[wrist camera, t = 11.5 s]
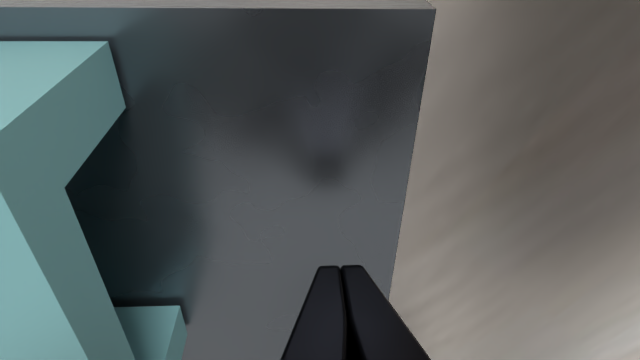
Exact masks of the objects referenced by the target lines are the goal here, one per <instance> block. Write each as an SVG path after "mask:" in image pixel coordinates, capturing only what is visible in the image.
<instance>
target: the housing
mask: <svg viewBox="0 0 640 360" xmlns="http://www.w3.org/2000/svg"><path fill="white" fill-rule="evenodd" d="M125 108H126V106H125V102H124V98H123V95H122V91H121V87H120V84H119V80H118V76H117V72H116V69H115V65H114V61H113V58H112V54H111V50H110V47H109V43H108V41H0V360H181V359H182V355H183V350H184V346H185V342H186V338H187V330H186V326H185V323H184V319H183V315H182V311H181V308H180V306H145V307H113V305H112V302H111V300H110V297H109V295H108V292H107V290H106V288H105V285H104V283H103V280H102V278H101V275H100V273H99V271H98V268H97V266H96V263H95V261H94V259H93V256H92V254H91V251H90V249H89V246H88V244H87V242H86V239H85V237H84V234H83V232H82V229H81V227H80V225H79V222H78V220H77V217H76V215H75V212H74V210H73V208H72V205H71V203H70V200H69V198H68V196H67V193H66V191H65V186H66V185H67V184H68V182H69V181H70V180H71V178H72V177H73V176H74V175H75V173H76V172H77V171H78V169H79V168H80V167H81V165H82V164H83V163H84V162H85V160H86V159H87V158H88V156H89V155H90V154H91V152H92V151H93V150H94V148H95V147H96V146H97V145H98V143H99V142H100V141H101V139H102V138H103V137H104V135H105V134H106V133H107V132H108V130H109V129H110V128H111V126H112V125H113V124H114V122H115V121H116V120H117V118H118V117H119V116H120V115H121V113H122V112H123V111H124V109H125Z"/></svg>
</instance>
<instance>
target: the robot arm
mask: <svg viewBox="0 0 640 360" xmlns="http://www.w3.org/2000/svg"><path fill="white" fill-rule="evenodd" d="M280 360H431V359H430V358H429V356H428V355H427V353H426V352H425V351H424V349H423V348H422V347H421V345H420V344H419V342H418V341H417V340H416V338H415V337H414V336H413V334H412V333H411V331H410V330H409V329H408V327H407V326H406V325H405V323H404V322H403V320H402V319H401V318H400V316H399V315H398V314H397V312H396V311H395V309H394V308H393V307H392V305H391V304H390V303H389V301H388V300H387V298H386V297H385V296H384V294H383V293H382V292H381V290H380V289H379V287H378V286H377V285H376V283H375V282H374V281H373V279H372V278H371V276H370V275H369V274H368V272H367V271H366V270H365V268H364V267H363V266H361V265H343V266H341V268H340V267H339V266H337V265H329V266H319V267H318V269H317V271H316V273H315V276H314V278H313V281H312V283H311V285H310V288H309V290H308V293H307V295H306V298H305V300H304V303H303V305H302V308H301V310H300V312H299V315H298V317H297V320H296V322H295V325H294V327H293V330H292V332H291V335H290V337H289V339H288V342H287V344H286V347H285V349H284V352H283V354H282V357H281V359H280Z"/></svg>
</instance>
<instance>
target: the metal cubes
mask: <svg viewBox="0 0 640 360" xmlns="http://www.w3.org/2000/svg"><path fill="white" fill-rule="evenodd" d="M435 13H436V9H435V8H434V7H433V6H432V5H431V4H430V3H429V2H428V1H427V0H0V41H108V43H109V47H110V50H111V54H112V58H113V61H114V65H115V69H116V72H117V76H118V80H119V84H120V87H121V91H122V95H123V98H124V102H125V106H126V108H125V109H124V111H123V112H122V113H121V115H120V116H119V117H118V118H117V120H116V121H115V122H114V124H113V125H112V126H111V128H110V129H109V130H108V132H107V133H106V134H105V135H104V137H103V138H102V139H101V141H100V142H99V143H98V145H97V146H96V147H95V148H94V150H93V151H92V152H91V154H90V155H89V156H88V158H87V159H86V160H85V162H84V163H83V164H82V165H81V167H80V168H79V169H78V171H77V172H76V173H75V175H74V176H73V177H72V178H71V180H70V181H69V182H68V184H67V185H66V186H65V191H66V193H67V196H68V198H69V200H70V203H71V205H72V208H73V210H74V212H75V215H76V217H77V220H78V222H79V225H80V227H81V229H82V232H83V234H84V237H85V239H86V242H87V244H88V246H89V249H90V251H91V254H92V256H93V259H94V261H95V263H96V266H97V268H98V271H99V273H100V275H101V278H102V280H103V283H104V285H105V288H106V290H107V292H108V295H109V297H110V300H111V302H112V305H113V307H145V306H180V308H181V311H182V315H183V319H184V323H185V326H186V330H187V338H186V342H185V346H184V350H183V355H182V359H181V360H280V359H281V357H282V354H283V352H284V349H285V347H286V344H287V342H288V339H289V337H290V335H291V332H292V330H293V327H294V325H295V322H296V320H297V317H298V315H299V312H300V310H301V308H302V305H303V303H304V300H305V298H306V295H307V293H308V290H309V288H310V285H311V283H312V281H313V278H314V276H315V273H316V271H317V269H318V267H319V266H329V265H337V266H339V267H340V268H341V266H343V265H361V266H363V267H364V268H365V270H366V271H367V272H368V274H369V275H370V276H371V278H372V279H373V281H374V282H375V283H376V285H377V286H378V287H379V289H380V290H381V292H382V293H383V294H384V296H385V297H386V298H387V300H388V299H389V293H390V287H391V281H392V275H393V269H394V263H395V256H396V250H397V244H398V238H399V232H400V226H401V220H402V214H403V208H404V202H405V196H406V190H407V184H408V177H409V171H410V165H411V159H412V153H413V147H414V141H415V135H416V129H417V123H418V117H419V111H420V104H421V98H422V92H423V86H424V80H425V74H426V68H427V62H428V56H429V50H430V44H431V38H432V32H433V25H434V19H435Z"/></svg>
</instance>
